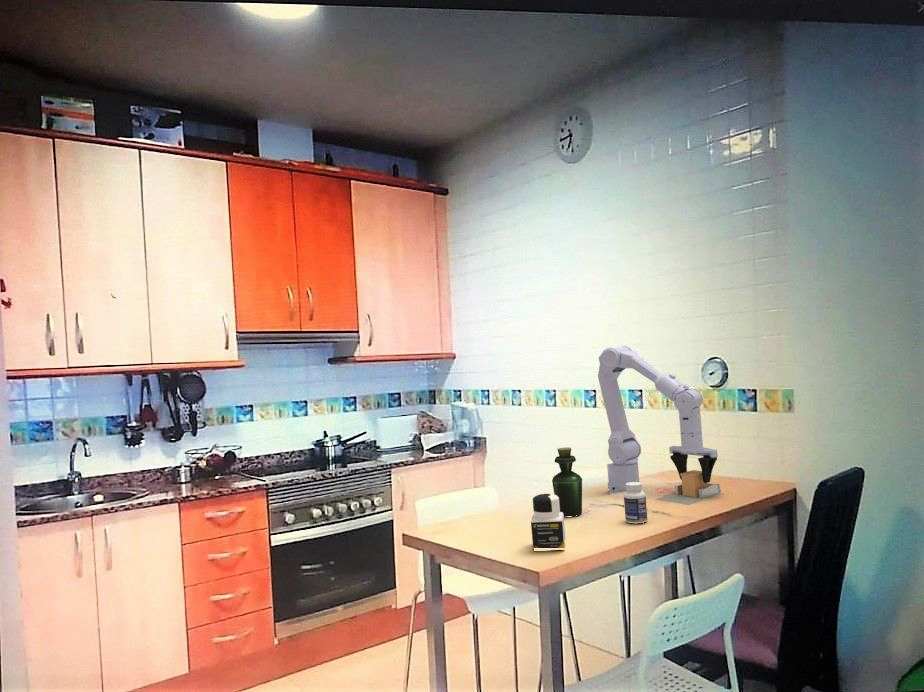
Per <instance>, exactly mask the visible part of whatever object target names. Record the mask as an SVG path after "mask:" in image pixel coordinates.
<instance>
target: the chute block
mask: <svg viewBox="0 0 924 692" xmlns="http://www.w3.org/2000/svg"><path fill="white" fill-rule="evenodd" d="M680 475H681V478H682V480H681V484H682V490H683V495H685V496H692V497H697V496H699V489H701V488H704V487H708V483H709V482H708V483H704V482H703V477H702V470H696V469H692V470H687V472H684V473H681V474H680Z"/></svg>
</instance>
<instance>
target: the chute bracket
mask: <svg viewBox="0 0 924 692" xmlns="http://www.w3.org/2000/svg"><path fill="white" fill-rule="evenodd" d="M720 486H721V484H720V483H719V484H718V483H712V482H708V487H704V488H701V489H699V496H697V497H696V498H701V499H704V498H707V497H710V496H713V495H716V494H720V493H721V487H720ZM674 494H675V495H683V490H682V483H679V484H676V485H674ZM683 496H685V495H683ZM689 497H692V496H689Z"/></svg>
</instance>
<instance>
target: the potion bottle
mask: <svg viewBox="0 0 924 692" xmlns="http://www.w3.org/2000/svg"><path fill="white" fill-rule="evenodd" d="M556 449H557V453H558V456H555V458H554V463H556V464H558V467H559V469H560V471H559V472H558V473H557V474H554V476H553V478H552V479H551V483H552V488H553V494H554V495H557V496H558V497H559V506H560V512H563V515H564V516H576V515H579V516H581V515H582V513H583V478H582V476H581V475H580V474H578V473H576V472H575V471H574V470H572V469H573V464H574V463H575V462H576V461H577V459H576V456H575V455H572V447H566V446H565V447H558V448H556ZM580 514H581V515H580ZM576 517H577V516H576Z"/></svg>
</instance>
